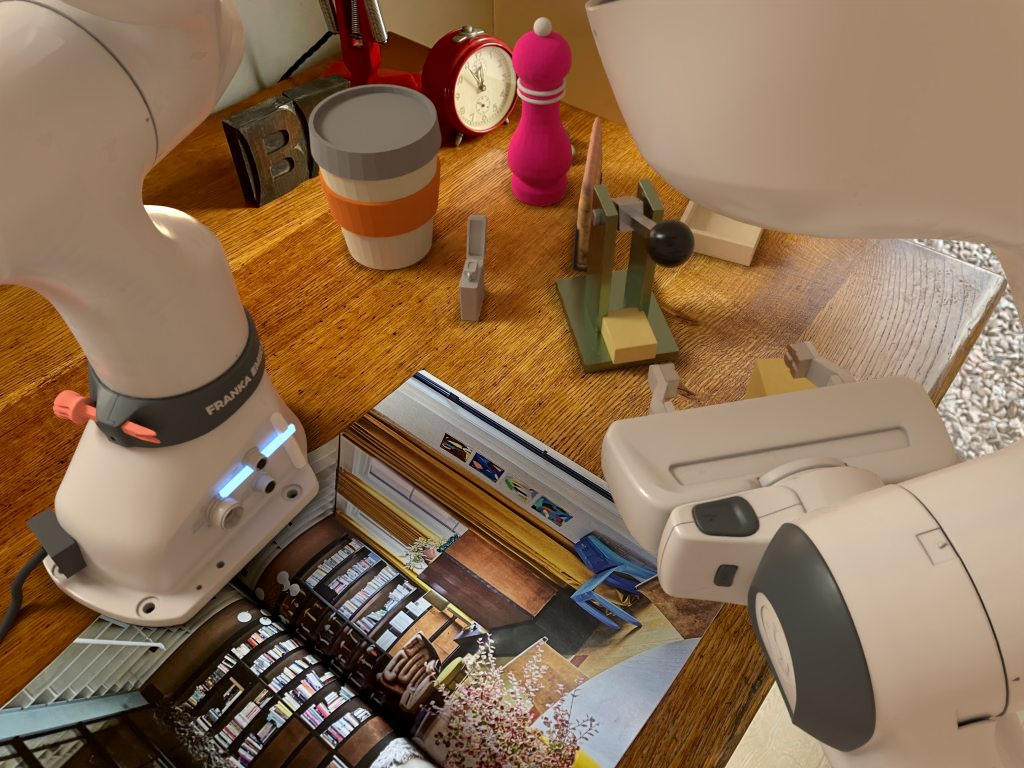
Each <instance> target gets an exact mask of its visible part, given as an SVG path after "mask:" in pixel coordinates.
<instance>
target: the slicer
mask: <svg viewBox="0 0 1024 768" xmlns="http://www.w3.org/2000/svg"><path fill="white" fill-rule="evenodd" d="M637 181H638V182H637V189H636V195H635V197H636V198H638V199H640V200H641V201H643V204H644V215H645V216H646V217H648V218H649V219H651V220H652V221H654V222H655V223H659V222H661V221H663V220H664V218H665V217H664V215H665V206H664V204H663V203H662V201H661V199H660V196H659V195H658V192H657V191H656V189H655V188H654V185H653V183H652V181H651V179H650V178H643V179H638V180H637ZM611 198H612V197H611V195H610V193H609V191H608V189H607V187H606V184H605V183H602V184H601V185H594V188H593V201H592V211H591V226H590V239H589V251H588V264H587V271H586V274H584V275H576V276H569V277H563V278H561V277H560V278H555V285H554V286H555V291H556V294H557V296H558V297H557V298H558V301H559V302H560V305H561V309H562V311H563V314H564V317H565V320H566V324H567V326H568V328H569V333H570V335H571V337H572V340H573V344H574V347H575V349H576V352H577V355H578V358H579V361H580V363H581V364H580V365H581V367H582V371H583V372H584V374H588V373H589V374H590V373H595V372H596V373H597V372H601V371H610V370H617V369H622V368H629V367H635V366H642V365H649V364H656V363H664V362H668V361H676V360H678V359H679V355H680V348H679V346H678V344H677V342H676V340H675V337H674V334H673V333H672V331H671V329H670V326H669V324H668V322H667V320H666V318H665V315H664V313H663V311H662V309H661V306H660V304H659V303H658V300H657V298H656V296H655V294H654V291H653V286H654V280H655V273H656V269H657V268H656V267H657V264H655V263H654V262H653V261H652V260H651V259H650V257H649V256H648V253H647V250H646V238H645V237H643V236H642V235H641V234H639V233H638V232H636V231H631V238H630V246H629V253H628V260H627V268H626V269H620V270H613V267H614V260H615V250H616V241H617V240H616V239H617V233H618V231H617V223H618V213H617V210H616V208H615V206H614V204H613V202H612V199H611ZM633 307H637V308H638V311H644V313H645V315H646V318H647V320H648V322H649V324H650V327H651V329H652V331H653V334H654V336H655V338H656V341H657V343H658V344H657V350H656V355H655V358H652V359H645V360H638V361H632V362H625V363H618V364H613V362H612V359H611V356H610V354H609V351H608V348H607V346H606V343H605V340H604V338H603V335H602V333H601V327H602V317H604V316H608V311H612V310H619V309H626V308H633Z"/></svg>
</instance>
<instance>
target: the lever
mask: <svg viewBox="0 0 1024 768" xmlns="http://www.w3.org/2000/svg"><path fill="white" fill-rule="evenodd" d="M611 199H612V202H613V204H614V206H615V208H616V210H617V213H618V223H617V233H625V232H626V233H627V232H632V231H636V232H638V233H639V234H641V235H642V236H643V237H645V238H646V250H647V253H648V256H649V257H650V259H651V260H652V261H653V262H654V263H655V264H656V266H658V267H661V268H664V269H674V268H678V267H681V266H682V265H684V264H686V263H687V262H688V261H689V259H690V258H691V257H692V255H693V253H694V252H693V251H694V247H695V240H694V235H693V233H692V231H691V229H690V228H689V227H688V226H687V225H686V224H685V223H683V222H681V221H680V220H678V219H672V218H668V219H663V221H661V222H659V223H655V222H654V221H652V220H651V219H649V218H648V217H646V216H645V215H644V204H643V201H641V200H640V199H638V198H636V195H635V196H634V195H629V196H620V197H611Z"/></svg>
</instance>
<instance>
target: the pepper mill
mask: <svg viewBox="0 0 1024 768" xmlns="http://www.w3.org/2000/svg"><path fill="white" fill-rule="evenodd" d="M552 29H553V25H552V22H551V20H550V19H549V18H547V17H538V18H537V19H536V20H535V21H534V23H533V30H531V31H528V32H526V33H524V34H523V35H522V36H521V37H520V38H519V39H517V41H516V43H515V45H514V48H513V50H512V57H511V61H512V63H511V64H512V68H513V71H514V73H515V74H516V75H517V77H518V78H517V81H516V85H517V88H516V94H517V95H518V97H519V98H520V99H521V117H520V119H519V120H520V121H519V123H518V125H517V126H516V128H515V131H514V133H512V137H511V139H510V142H509V145H508V147H507V155H506V161H507V166H508V167H509V170H510V171H511V173H512V175H511V192H512V195H513V196H514V197H515V199H516V200H517V201H519V202H520V203H523V204H525V205H528V206H533V207H546V206H551V205H553V204H556V203H558V202H560V201H561V200H563V198H564V197H565V195H566V193H567V189H568V175H567V174H568V172H570V169H571V167H572V165H573V161H574V157H573V158H572V147H571V145H572V144H571V141H570V140H569V137H568V135H567V133H566V131H565V129H566V128H565V127H564V124H563V122H562V118H561V100H562V99H563V98H564V97H565V95H566V92H567V90H566V85H567V80H566V76H568V74H569V73H570V71H571V68H572V63H573V54H572V49H571V46H570V44H569V42H568V41H567V39H566V38H565V37H564V36H563V35H562V34H560V33H558V32H557V31H555V30H552ZM564 128H565V129H564Z"/></svg>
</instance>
